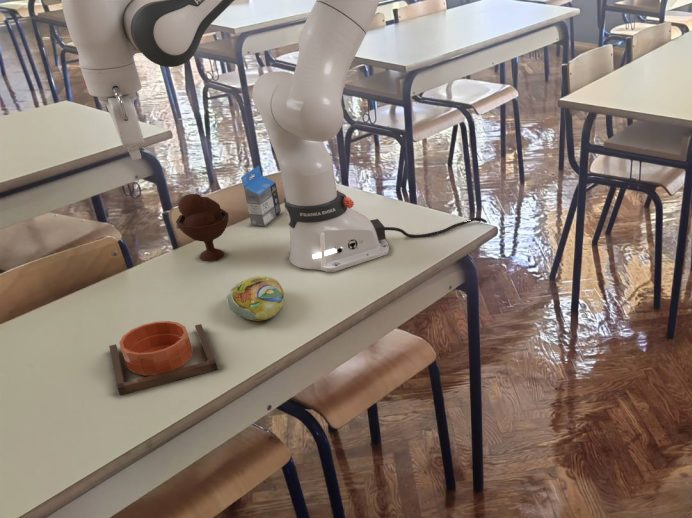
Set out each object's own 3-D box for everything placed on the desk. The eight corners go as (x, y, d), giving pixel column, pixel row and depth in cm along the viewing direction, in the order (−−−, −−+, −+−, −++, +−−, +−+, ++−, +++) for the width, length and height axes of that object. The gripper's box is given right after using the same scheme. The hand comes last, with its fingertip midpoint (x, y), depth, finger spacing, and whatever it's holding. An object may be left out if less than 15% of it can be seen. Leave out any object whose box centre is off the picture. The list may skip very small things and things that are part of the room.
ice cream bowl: (223, 268, 168) (206, 204, 160) (177, 264, 170) (159, 200, 162) (245, 248, 177) (231, 186, 168) (202, 244, 179) (186, 183, 170)
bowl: (187, 338, 145) (181, 315, 142) (198, 367, 137) (191, 343, 134) (124, 353, 140) (116, 330, 137) (132, 384, 132) (123, 360, 129)
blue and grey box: (265, 227, 187) (255, 178, 179) (250, 225, 187) (240, 177, 180) (282, 213, 194) (273, 166, 186) (268, 212, 194) (258, 164, 187)
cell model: (286, 277, 159) (284, 284, 145) (284, 314, 161) (281, 324, 147) (232, 272, 157) (224, 278, 142) (230, 309, 158) (222, 319, 144)
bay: (203, 330, 147) (201, 323, 146) (218, 369, 136) (216, 362, 135) (111, 353, 141) (108, 345, 140) (119, 395, 130) (117, 388, 129)
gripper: (138, 92, 128) (161, 171, 136) (125, 66, 143) (146, 139, 151) (98, 97, 126) (124, 177, 134) (89, 71, 141) (112, 145, 149)
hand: (136, 157), depth 143 cm, fingers closed
